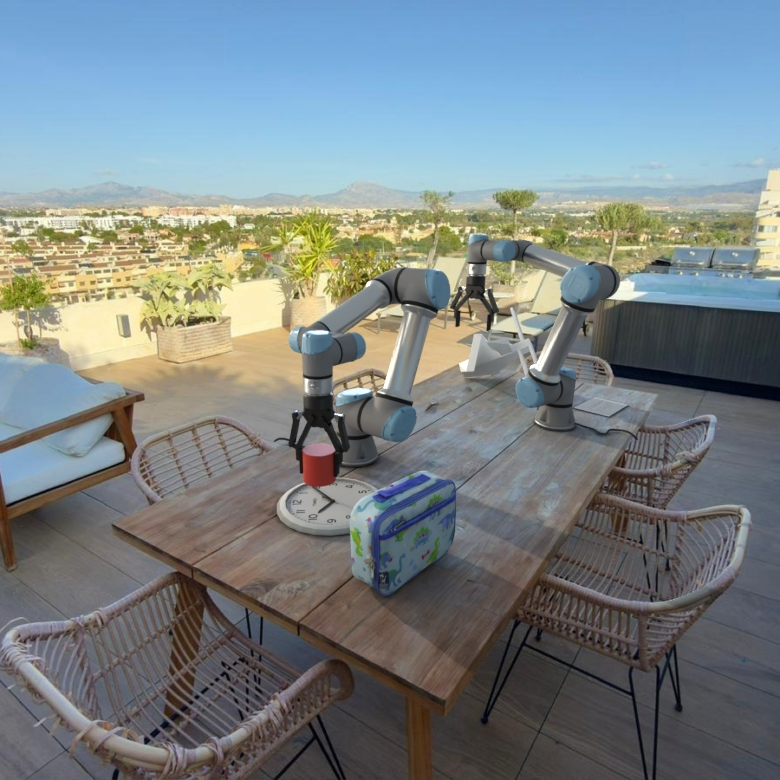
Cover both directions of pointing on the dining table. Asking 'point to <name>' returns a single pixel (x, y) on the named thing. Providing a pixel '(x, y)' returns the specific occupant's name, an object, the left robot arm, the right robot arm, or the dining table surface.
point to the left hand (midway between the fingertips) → (319, 473)
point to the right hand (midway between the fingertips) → (472, 328)
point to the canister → (318, 464)
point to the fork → (432, 403)
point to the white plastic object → (496, 354)
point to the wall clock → (322, 506)
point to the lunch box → (402, 530)
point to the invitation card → (601, 406)
